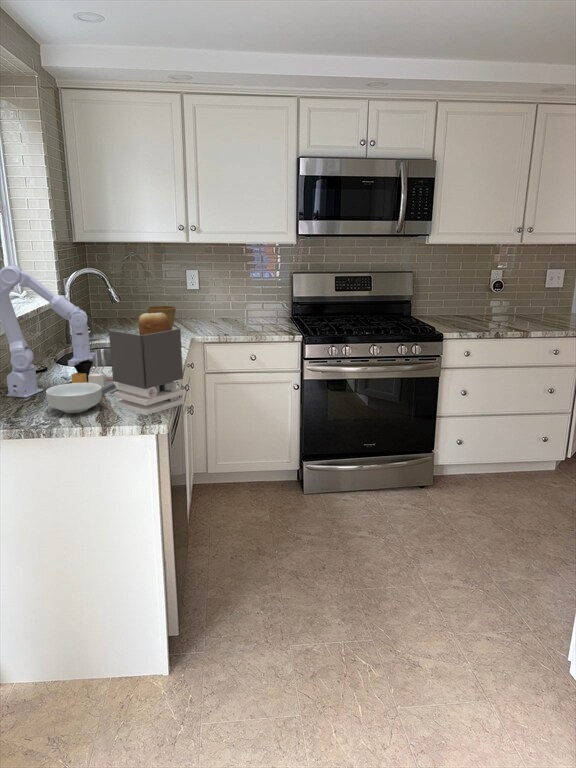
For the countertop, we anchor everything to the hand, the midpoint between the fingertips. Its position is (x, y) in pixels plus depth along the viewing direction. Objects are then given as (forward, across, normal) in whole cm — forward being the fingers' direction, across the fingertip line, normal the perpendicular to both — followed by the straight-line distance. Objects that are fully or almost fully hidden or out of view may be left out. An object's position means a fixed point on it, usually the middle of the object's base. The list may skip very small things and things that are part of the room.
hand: (84, 381), depth 204 cm
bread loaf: (+3, +24, -17) cm, 30 cm away
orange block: (+1, -3, 0) cm, 3 cm away
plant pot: (+3, +103, +18) cm, 105 cm away
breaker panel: (+3, +2, -2) cm, 4 cm away
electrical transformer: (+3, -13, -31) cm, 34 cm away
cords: (+3, +6, -2) cm, 7 cm away
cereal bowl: (+3, -23, -11) cm, 25 cm away
